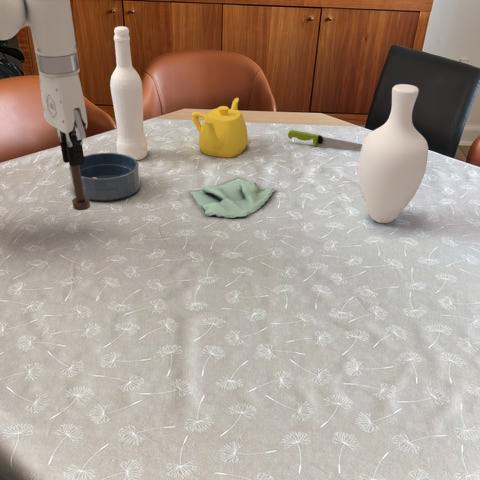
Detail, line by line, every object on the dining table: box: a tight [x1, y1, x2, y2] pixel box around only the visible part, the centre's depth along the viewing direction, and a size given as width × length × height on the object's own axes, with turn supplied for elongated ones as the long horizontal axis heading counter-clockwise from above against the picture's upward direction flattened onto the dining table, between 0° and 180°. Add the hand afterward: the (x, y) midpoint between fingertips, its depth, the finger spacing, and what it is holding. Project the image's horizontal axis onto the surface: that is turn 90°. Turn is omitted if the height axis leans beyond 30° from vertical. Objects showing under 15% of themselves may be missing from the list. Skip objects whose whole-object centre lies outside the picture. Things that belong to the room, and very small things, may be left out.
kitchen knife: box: [287, 129, 363, 151], centre depth 180 cm, size 22×1×3 cm, turn 77°
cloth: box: [190, 178, 276, 219], centre depth 155 cm, size 20×22×2 cm
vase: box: [357, 83, 429, 224], centre depth 139 cm, size 14×14×28 cm
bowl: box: [68, 152, 141, 202], centre depth 157 cm, size 16×16×6 cm
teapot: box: [191, 97, 249, 159], centre depth 176 cm, size 22×16×11 cm
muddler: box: [65, 133, 91, 211], centre depth 134 cm, size 4×4×15 cm
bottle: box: [109, 25, 149, 161], centre depth 164 cm, size 8×8×30 cm
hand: (74, 162), depth 133 cm, fingers closed on muddler
